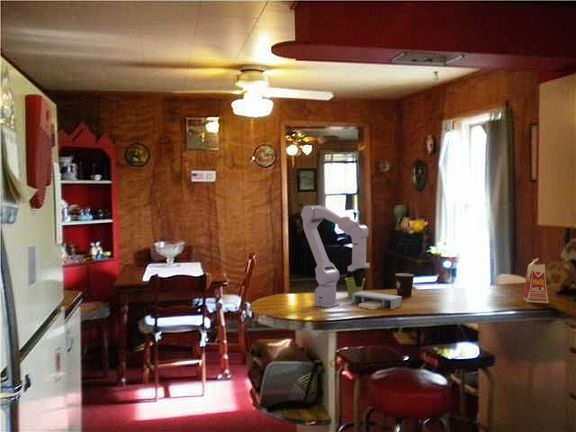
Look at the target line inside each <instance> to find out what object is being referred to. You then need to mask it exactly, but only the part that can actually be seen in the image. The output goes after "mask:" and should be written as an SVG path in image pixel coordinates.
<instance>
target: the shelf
mask: <svg viewBox="0 0 576 432" xmlns="http://www.w3.org/2000/svg"><path fill="white" fill-rule="evenodd" d="M402 298H403V297H402V296H397V295H393V294H387V293H385V294H384V293H378V292H371V291H370V292H369V291H364V290H363V291H360V292H356V293H353V294H352V298H351V304H357V303H360V302H361V303H364V302H367V301H371V300H379V301H382V307H381V308H386V306H387V307H389V306H390V309H391V310H394V309H397V307H398V308H400V307H402V304H403V303H402V302H403V299H402Z"/></svg>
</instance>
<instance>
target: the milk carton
mask: <svg viewBox="0 0 576 432" xmlns="http://www.w3.org/2000/svg"><path fill="white" fill-rule="evenodd" d="M527 265H528V266H527V271H526V277H525V281H524V290H523V300H525V302H526V303H536V304H537V303H539V304H549V296H548V291H547V280H546V264H545V263H543V262H541V261H540V260H539V257H536V258H535V259H532V262H531V263H529V264H527Z"/></svg>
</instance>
